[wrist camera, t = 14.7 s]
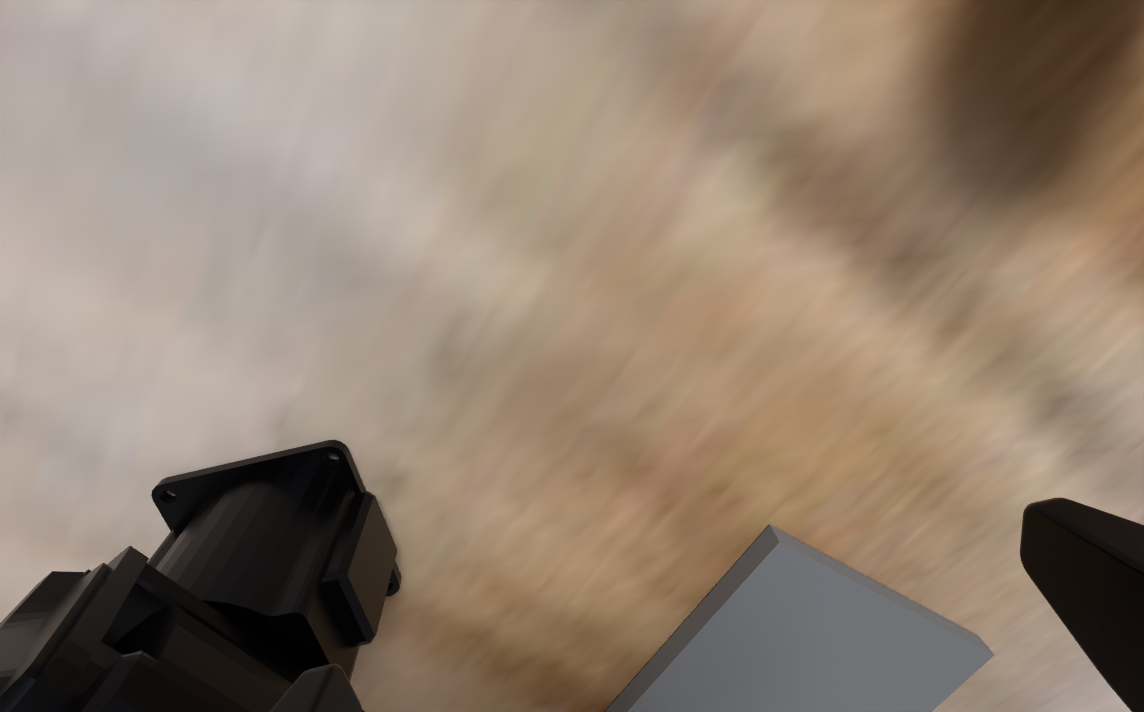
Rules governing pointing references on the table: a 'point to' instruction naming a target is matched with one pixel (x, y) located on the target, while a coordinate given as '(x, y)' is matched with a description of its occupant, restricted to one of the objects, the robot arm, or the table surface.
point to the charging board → (804, 643)
